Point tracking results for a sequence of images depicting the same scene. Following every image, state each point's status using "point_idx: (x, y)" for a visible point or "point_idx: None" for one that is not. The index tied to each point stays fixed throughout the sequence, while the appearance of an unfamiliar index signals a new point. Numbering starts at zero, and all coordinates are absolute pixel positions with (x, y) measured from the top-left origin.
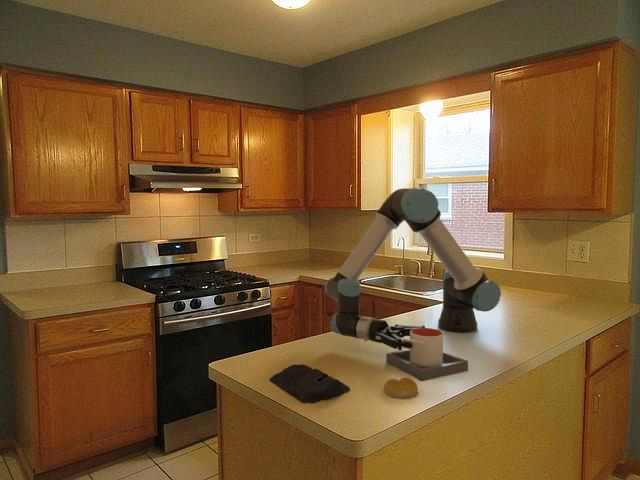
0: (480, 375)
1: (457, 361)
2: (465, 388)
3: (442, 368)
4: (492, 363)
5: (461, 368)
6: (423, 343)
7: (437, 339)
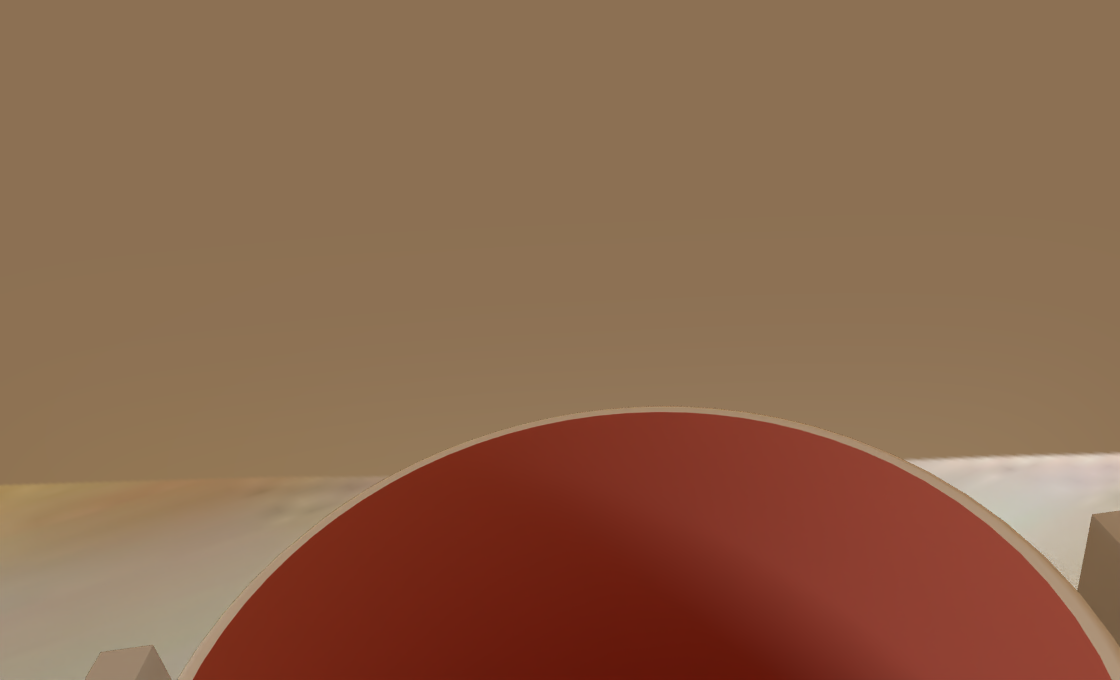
0: None
1: None
2: None
3: None
4: (168, 576)
5: None
6: (1111, 530)
7: (724, 454)
